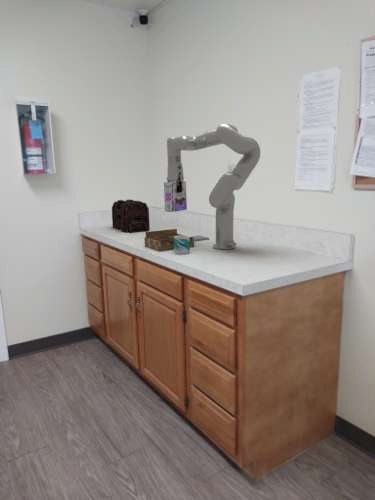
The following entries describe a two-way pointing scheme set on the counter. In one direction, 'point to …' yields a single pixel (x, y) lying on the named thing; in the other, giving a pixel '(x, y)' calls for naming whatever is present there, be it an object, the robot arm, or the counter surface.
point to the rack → (162, 239)
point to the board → (200, 238)
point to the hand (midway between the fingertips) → (175, 192)
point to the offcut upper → (171, 238)
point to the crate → (130, 216)
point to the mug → (181, 244)
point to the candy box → (174, 197)
